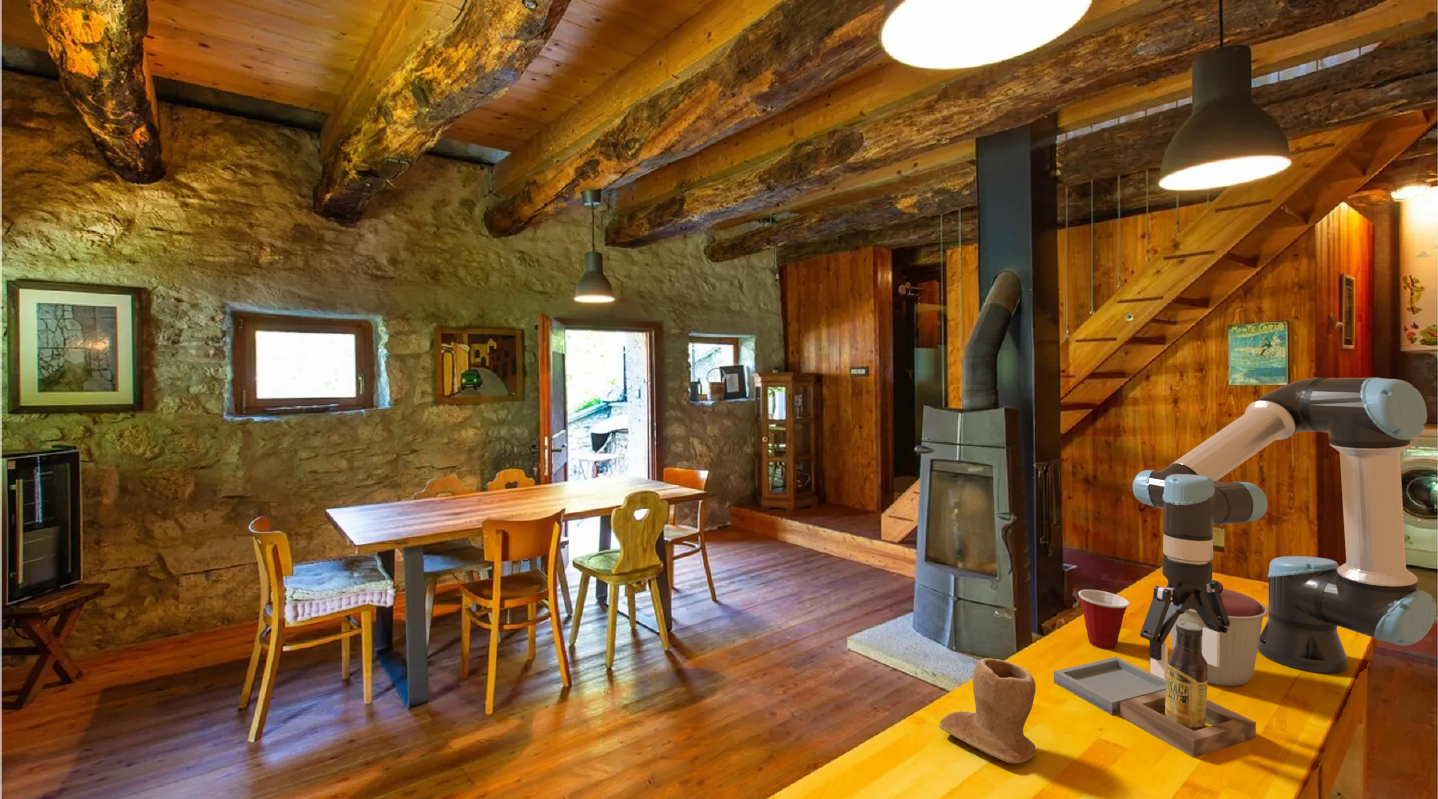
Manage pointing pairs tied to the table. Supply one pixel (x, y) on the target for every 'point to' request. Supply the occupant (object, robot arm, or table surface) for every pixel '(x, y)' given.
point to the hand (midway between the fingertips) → (1185, 669)
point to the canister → (1232, 637)
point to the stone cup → (997, 712)
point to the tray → (1108, 682)
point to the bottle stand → (1194, 743)
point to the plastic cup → (1103, 617)
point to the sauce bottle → (1187, 678)
